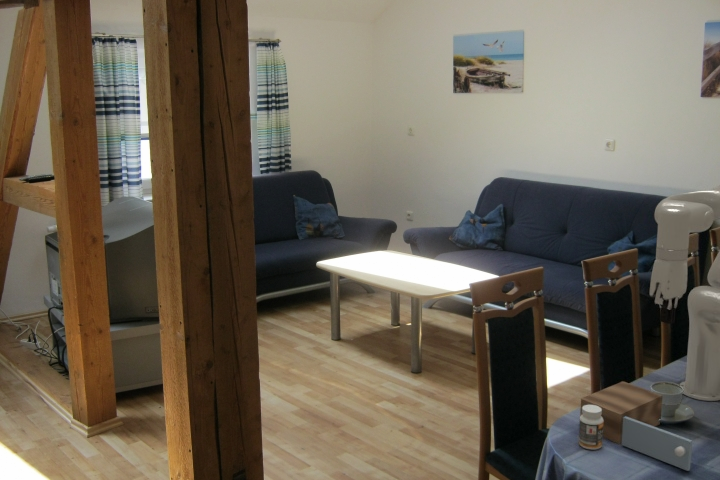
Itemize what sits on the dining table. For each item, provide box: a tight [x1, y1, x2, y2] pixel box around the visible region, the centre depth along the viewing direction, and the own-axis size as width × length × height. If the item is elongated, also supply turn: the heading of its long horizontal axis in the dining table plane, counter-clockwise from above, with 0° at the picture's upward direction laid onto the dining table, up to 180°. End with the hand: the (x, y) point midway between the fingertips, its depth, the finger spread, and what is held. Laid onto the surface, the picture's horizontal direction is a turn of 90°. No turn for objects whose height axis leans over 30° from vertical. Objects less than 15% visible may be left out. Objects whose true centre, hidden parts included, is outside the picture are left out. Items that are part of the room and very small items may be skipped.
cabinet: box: [579, 380, 663, 445], centre depth 195 cm, size 18×12×8 cm, turn 125°
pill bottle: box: [578, 405, 604, 451], centre depth 185 cm, size 6×6×10 cm
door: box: [621, 416, 693, 472], centre depth 177 cm, size 17×2×7 cm, turn 40°
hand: (667, 322), depth 193 cm, fingers closed
